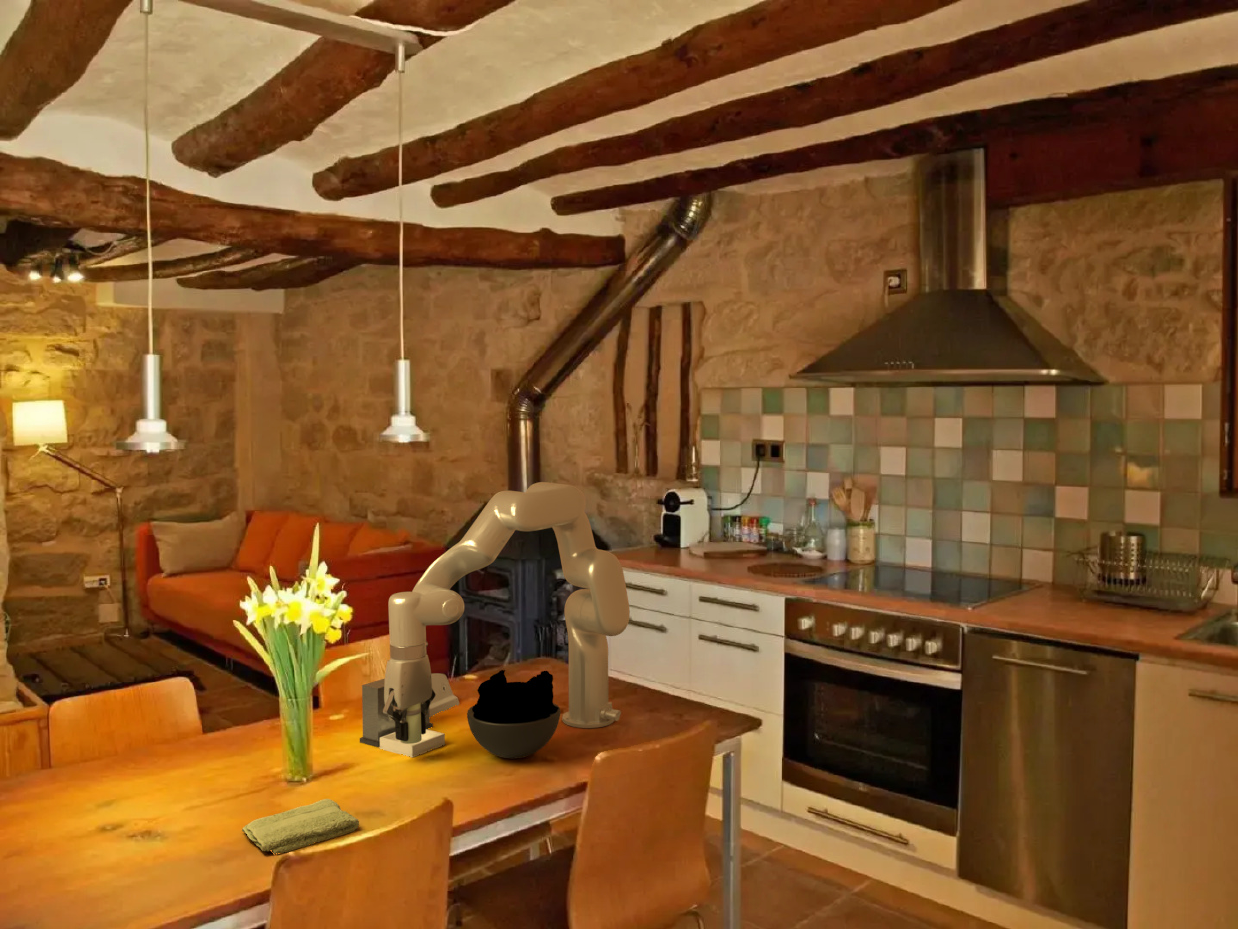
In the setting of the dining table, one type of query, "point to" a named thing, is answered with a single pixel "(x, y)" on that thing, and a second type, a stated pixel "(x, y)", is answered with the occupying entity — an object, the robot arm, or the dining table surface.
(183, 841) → the dining table surface
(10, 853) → the dining table surface
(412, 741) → the olive green jar
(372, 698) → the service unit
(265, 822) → the washcloth
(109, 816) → the dining table surface
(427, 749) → the parts tray
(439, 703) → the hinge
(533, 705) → the coal bowl
